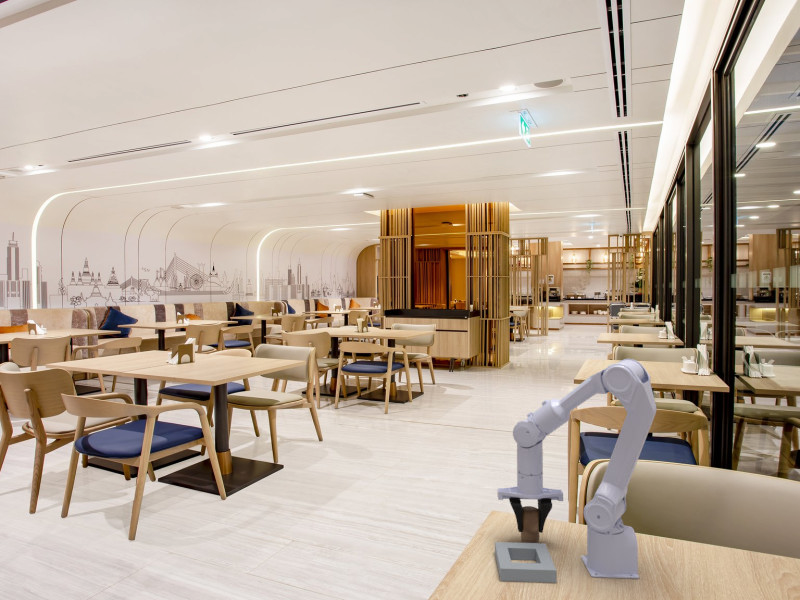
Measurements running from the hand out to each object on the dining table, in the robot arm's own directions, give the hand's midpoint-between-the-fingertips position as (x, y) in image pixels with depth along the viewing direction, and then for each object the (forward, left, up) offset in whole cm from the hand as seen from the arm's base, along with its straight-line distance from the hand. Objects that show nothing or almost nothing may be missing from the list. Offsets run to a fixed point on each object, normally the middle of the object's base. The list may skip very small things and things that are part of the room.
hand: (530, 530), depth 118 cm
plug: (0, 0, -3) cm, 3 cm away
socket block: (+3, +10, -3) cm, 11 cm away
